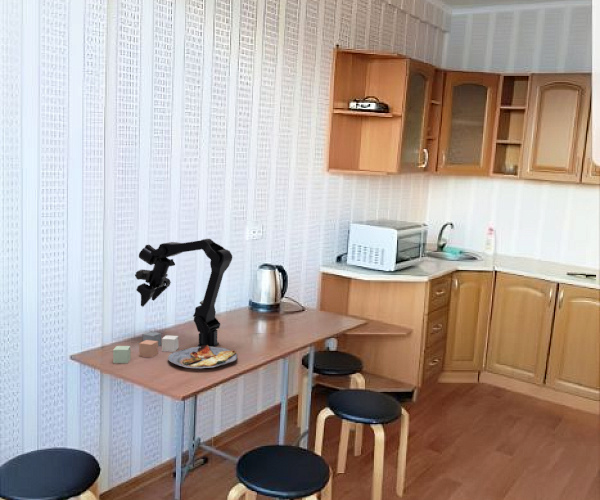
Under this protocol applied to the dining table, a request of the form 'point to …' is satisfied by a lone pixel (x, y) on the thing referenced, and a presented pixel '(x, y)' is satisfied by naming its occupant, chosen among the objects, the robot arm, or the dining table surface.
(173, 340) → the off-white block
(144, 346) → the terracotta block
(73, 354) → the dining table surface
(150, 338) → the slate-grey block
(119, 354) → the sage-green block
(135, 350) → the dining table surface
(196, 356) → the food plate
